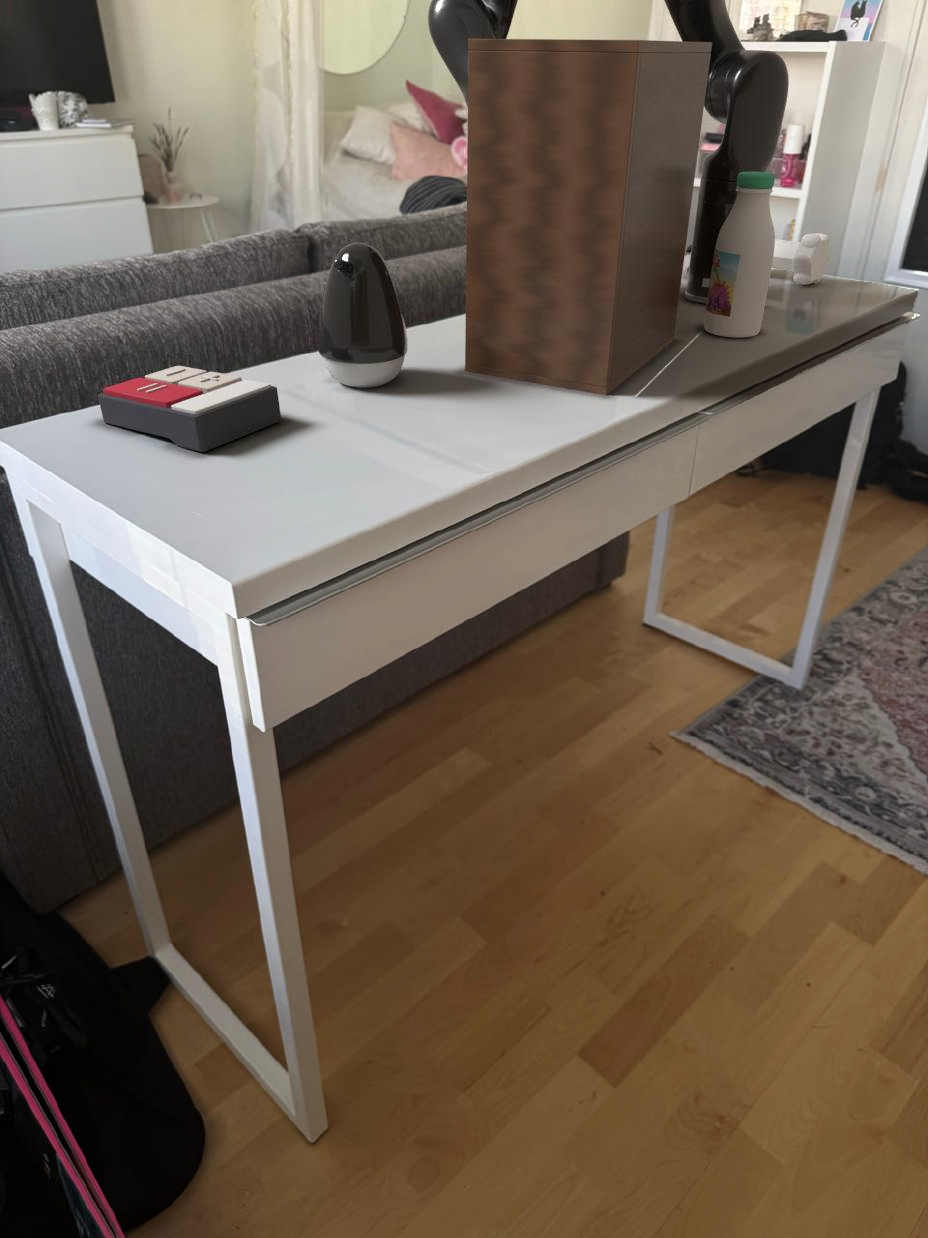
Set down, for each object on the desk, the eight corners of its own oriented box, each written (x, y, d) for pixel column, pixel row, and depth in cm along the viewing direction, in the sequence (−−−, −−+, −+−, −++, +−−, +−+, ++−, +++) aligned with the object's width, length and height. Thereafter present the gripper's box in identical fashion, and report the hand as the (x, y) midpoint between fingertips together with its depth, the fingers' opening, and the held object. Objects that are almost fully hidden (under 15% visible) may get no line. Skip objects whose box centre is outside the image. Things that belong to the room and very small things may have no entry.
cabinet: (464, 372, 111) (468, 38, 93) (550, 324, 130) (566, 40, 112) (605, 396, 104) (639, 39, 86) (673, 341, 123) (712, 42, 105)
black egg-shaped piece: (304, 389, 104) (292, 247, 96) (344, 364, 113) (337, 231, 105) (386, 400, 102) (381, 254, 94) (421, 373, 110) (419, 238, 102)
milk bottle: (754, 325, 131) (782, 169, 120) (764, 340, 124) (794, 176, 114) (699, 323, 131) (722, 168, 121) (706, 337, 125) (730, 175, 114)
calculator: (178, 361, 101) (277, 379, 93) (185, 400, 103) (283, 420, 95) (93, 387, 93) (195, 408, 85) (103, 428, 95) (203, 452, 88)
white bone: (722, 276, 159) (729, 225, 155) (746, 269, 164) (754, 220, 160) (804, 290, 150) (814, 237, 146) (827, 282, 156) (837, 230, 151)
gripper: (478, 121, 104) (534, 250, 102) (577, 118, 111) (632, 240, 109) (453, 167, 111) (505, 290, 109) (548, 162, 118) (599, 278, 116)
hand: (568, 264), depth 109 cm, fingers closed on hair serum, 5 cm apart
